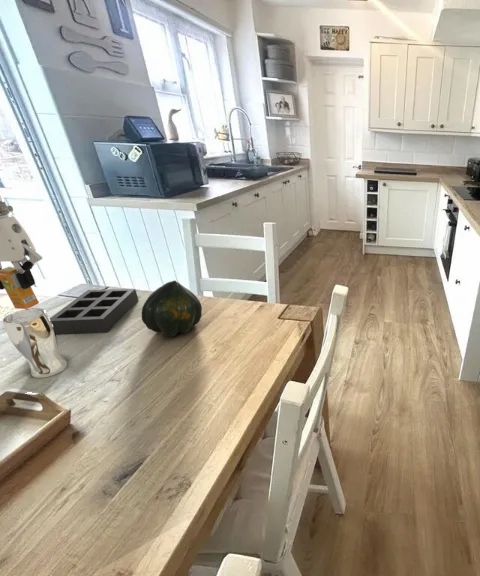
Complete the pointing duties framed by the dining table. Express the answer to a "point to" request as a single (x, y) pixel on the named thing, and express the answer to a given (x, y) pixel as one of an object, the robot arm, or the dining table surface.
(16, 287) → the supplement box
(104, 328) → the holder
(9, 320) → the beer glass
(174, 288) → the squash
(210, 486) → the dining table surface
